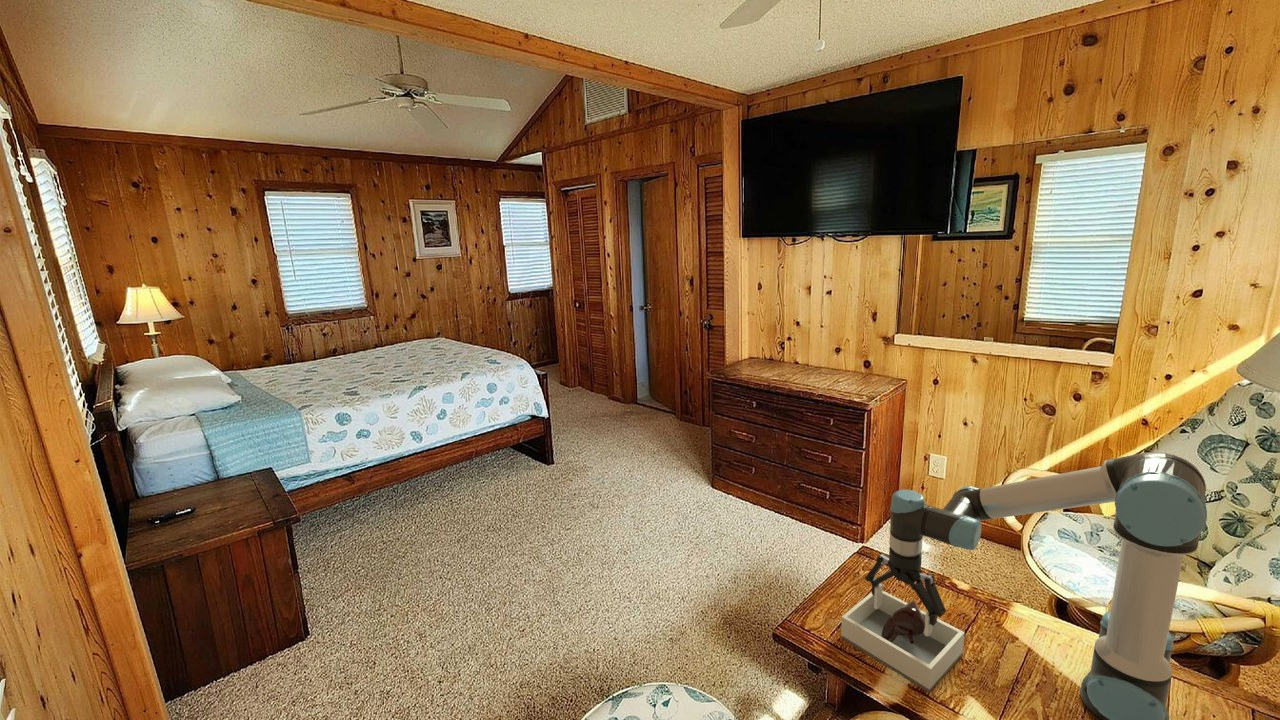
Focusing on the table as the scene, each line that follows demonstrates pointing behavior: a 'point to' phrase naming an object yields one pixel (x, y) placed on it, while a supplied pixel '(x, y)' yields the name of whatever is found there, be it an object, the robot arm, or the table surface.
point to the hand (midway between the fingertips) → (902, 619)
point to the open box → (903, 642)
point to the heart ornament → (904, 623)
